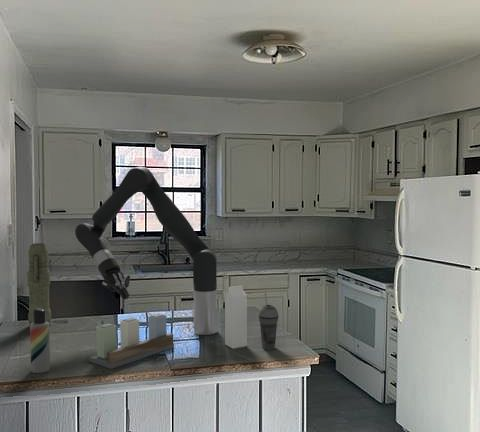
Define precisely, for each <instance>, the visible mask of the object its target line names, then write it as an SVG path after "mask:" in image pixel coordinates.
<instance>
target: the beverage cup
mask: <svg viewBox="0 0 480 432" xmlns="http://www.w3.org/2000/svg"><path fill="white" fill-rule="evenodd" d="M267 298H268V297H267V292H264V299H265V301H264V302H265V305H263V306H262V307H261V308H260V310H259V313H258V320H259V324H260V325H259V326H260V337H261V347H262V349H263V350H274V349H275V348H276V347H275V346H276V341H277V340H276V338H277V329H278V328H277V327H278V322H279V321H278V320H279V312H278V310H277V308H276V307H275V306H273V305H271V304H268V299H267Z"/></svg>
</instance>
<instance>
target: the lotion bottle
mask: <svg viewBox="0 0 480 432" xmlns="http://www.w3.org/2000/svg"><path fill="white" fill-rule="evenodd" d="M29 333H30V335H29V338H30V339H29V340H30V345H29V346H30V371H31V373H33V374H43V373H46V372H49V371H50V370H51V343H50V340H51V339H50V337H51V335H50V327H49V322H46V309H45V308H34V310H33V323H31V324H30V328H29Z"/></svg>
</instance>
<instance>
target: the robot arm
mask: <svg viewBox="0 0 480 432" xmlns="http://www.w3.org/2000/svg"><path fill="white" fill-rule="evenodd" d="M138 192H141V193H142V194H143V195H144V197H145V198H146V199H147V200H148V201H149V203H150V205H151V207H152V210H153V213H154V214H155V216H156V218H157V220H158V221H159V223H160V224H161V226H162V227H163V228H164V230H165V231H167V233H168V234H169V235H170V236H171V237H172V238H173V239H174V240H175V241H176V242H177V243H179V244H180V245H181V246H182V247H183V248H184V249H185V251H186V252H187V253H188V255H189V256H190V258H191V260H192V278H193V279H192V280H193V281H192V282H193V283H192V284H193V333H194V334H195V335H200V336H205V335H206V336H208V335H214V334H217V333H219V331H220V329H219V327H220V325H219V324H220V323H219V321H220V320H219V317H220V316H219V308H218V305H217V304H218V299H217V298H218V297H217V296H218V295H217V294H218V289H217V288H218V286H217V285H218V284H217V283H218V282H217V261H218V259H217V256H216V254H215V252H213V251H212V249H211V248H209V246H207V244H206V243H205V242H204V241H203V240H202V239H201V238H200V237H199V235H198V234H197V233H196V230H195V229H194V228H193V227H192V225H191V224H190V222H189V221H188V219H187V218H186V216H185V215H184V214H183V213H182V211H181V210H180V208H178V207H177V205H176V204H175V203H174V201H173V200H172V199H171V198H170V197H169V195H168V194H167V193H166V192H165V191H164V190H163V189H162V187H161V185H160V184H159V182H158V180H157V178H156V177H155V176H154V174H153V173H152V171H151V170H150V169H149V168H147V167H144V166H136V167H132V168H130V169H129V170H128V171H127V173H126V174H125V176H124V177H123V178H122V181H121V182H120V184H119V185H118V186H117V188H116V189H115V190H114V192H113V193H112V194H111V195H110V196H109V197H108V198H107V199H106V200H105V201H104V202H103V203H102V204H101V205H100V207H99V208H98V209H97V210H96V211H95V212H94V213H93V214H92V216H91V218H92V221H93V223H92V224H90V223H85V222H83V223H79V224H77V226H76V227H75V230H74V234H75V237H76V239H77V241H78V242H79V243H80V244H81V245H82V246H83V247H84V248H85V249H86V251H88V253H89V255H90V256H91V258H92V259H93V262H94V265H95V267H96V268H97V270H98V271H99V273H100V275H101V277H102V278H103V281H102V282H101V286H103V287H105V288H106V289H107V290H110V291H111V292H112V293H115V292H117V293H118V294H119V296H120V297H121V299H122V300H128V299H129V297H130V293H129V292H128V290H127V288H128V287H129V286H130V281H131V276H130V275H129V274H128V275H125V274H124V272H122V271H121V267H120V265H119V263H118V261H117V260H116V258H115V256H114V255H113V253H112V252H111V251H110V249H109V248H108V247H107V245H106V243H105V242H104V241H103V240H101V237H102V235H103V234H104V232H105V230H106V228H107V226H108V225H109V224H111V222H112V221H113V220H115V219H114V218H115V217H116V216H118V214H119V213H120V211H121V210H122V208H123V207H124V206H125V204H126V203H127V202H128V201H129V200H130V199H131V198H132V197H133V196H134V195H136V194H137V193H138Z"/></svg>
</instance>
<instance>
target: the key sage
mask: <svg viewBox="0 0 480 432" xmlns="http://www.w3.org/2000/svg"><path fill="white" fill-rule="evenodd" d="M95 330H96V331H95V335H96V338H95V339H96V342H95V343H96V347H95V348H96V355H97V357H100V358H103V359H105V358H107V352H111V351H114V350H116V349H117V325H115V324H112V323H104V324H100V325H97V326H95Z"/></svg>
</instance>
